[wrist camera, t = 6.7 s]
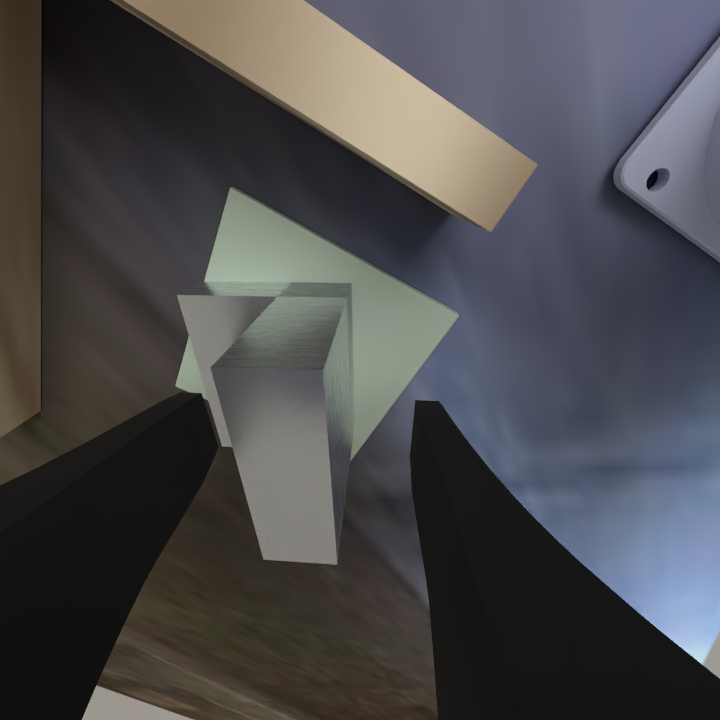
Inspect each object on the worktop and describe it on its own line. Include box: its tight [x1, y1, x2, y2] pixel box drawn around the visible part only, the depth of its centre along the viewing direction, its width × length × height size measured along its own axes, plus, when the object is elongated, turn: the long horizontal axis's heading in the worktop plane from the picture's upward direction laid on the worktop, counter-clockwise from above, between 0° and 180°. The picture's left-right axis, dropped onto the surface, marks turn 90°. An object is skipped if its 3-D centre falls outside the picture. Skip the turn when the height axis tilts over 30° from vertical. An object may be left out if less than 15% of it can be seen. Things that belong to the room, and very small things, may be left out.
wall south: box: [110, 0, 538, 232], centre depth 6 cm, size 12×1×4 cm, turn 62°
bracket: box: [177, 281, 355, 565], centre depth 9 cm, size 6×5×6 cm
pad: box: [176, 187, 459, 461], centre depth 12 cm, size 8×8×1 cm
